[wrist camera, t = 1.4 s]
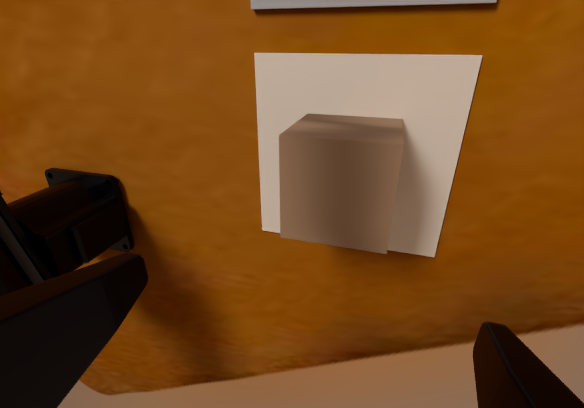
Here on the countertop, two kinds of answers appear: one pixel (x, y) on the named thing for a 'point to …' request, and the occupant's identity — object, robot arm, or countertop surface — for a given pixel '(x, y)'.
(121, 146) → the countertop surface
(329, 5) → the grey mat
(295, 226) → the walnut block
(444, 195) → the card
